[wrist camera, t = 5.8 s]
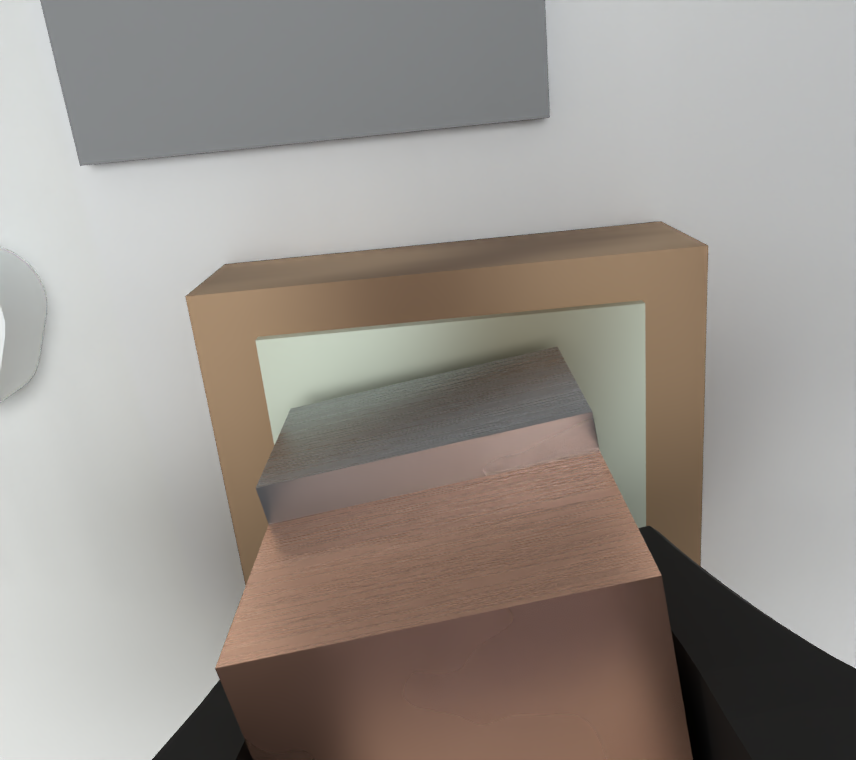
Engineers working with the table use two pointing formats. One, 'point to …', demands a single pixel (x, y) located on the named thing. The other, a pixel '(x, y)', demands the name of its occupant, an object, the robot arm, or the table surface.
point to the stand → (470, 347)
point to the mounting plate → (19, 322)
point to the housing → (452, 583)
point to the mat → (289, 70)
